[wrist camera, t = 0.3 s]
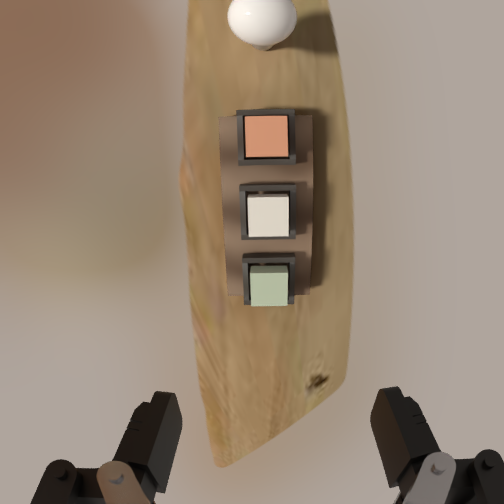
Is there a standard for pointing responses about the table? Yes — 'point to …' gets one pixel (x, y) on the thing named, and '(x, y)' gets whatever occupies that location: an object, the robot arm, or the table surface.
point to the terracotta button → (266, 136)
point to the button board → (267, 182)
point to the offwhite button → (268, 215)
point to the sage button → (269, 285)
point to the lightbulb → (262, 21)
